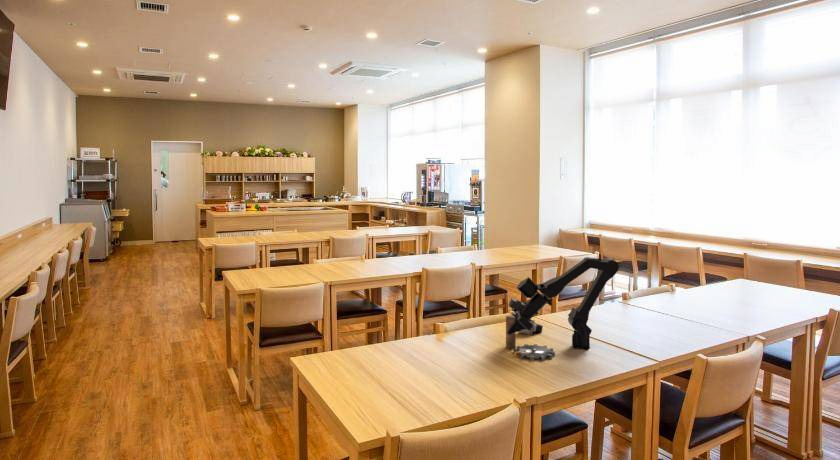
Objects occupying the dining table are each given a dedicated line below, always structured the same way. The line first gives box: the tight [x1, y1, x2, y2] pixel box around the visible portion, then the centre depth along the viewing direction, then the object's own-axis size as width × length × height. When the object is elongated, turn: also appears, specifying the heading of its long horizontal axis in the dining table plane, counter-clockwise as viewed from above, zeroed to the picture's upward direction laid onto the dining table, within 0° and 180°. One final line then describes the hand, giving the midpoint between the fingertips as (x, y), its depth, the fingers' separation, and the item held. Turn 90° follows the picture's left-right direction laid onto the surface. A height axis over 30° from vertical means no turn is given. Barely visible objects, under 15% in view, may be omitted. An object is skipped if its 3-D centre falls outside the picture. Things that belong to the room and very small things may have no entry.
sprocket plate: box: [513, 343, 556, 362], centre depth 211 cm, size 16×16×2 cm
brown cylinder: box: [505, 315, 517, 350], centre depth 219 cm, size 4×4×13 cm
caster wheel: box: [517, 319, 544, 336], centre depth 241 cm, size 7×11×10 cm
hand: (507, 332), depth 219 cm, fingers closed on brown cylinder, 4 cm apart
